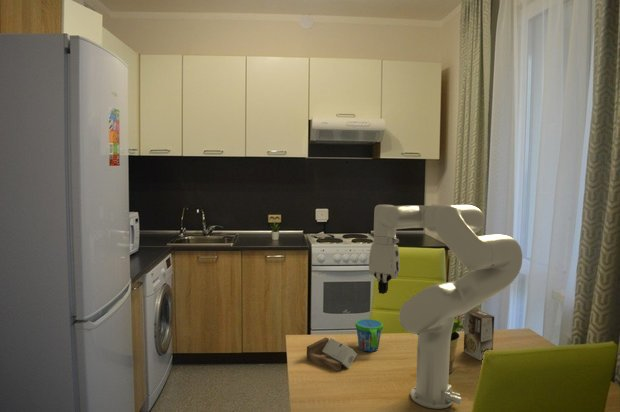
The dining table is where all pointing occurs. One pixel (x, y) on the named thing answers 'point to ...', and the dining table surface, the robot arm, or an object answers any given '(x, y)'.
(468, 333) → the coffee box
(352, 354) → the skincare box
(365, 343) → the snack cup
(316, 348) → the u rest
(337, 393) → the dining table surface
